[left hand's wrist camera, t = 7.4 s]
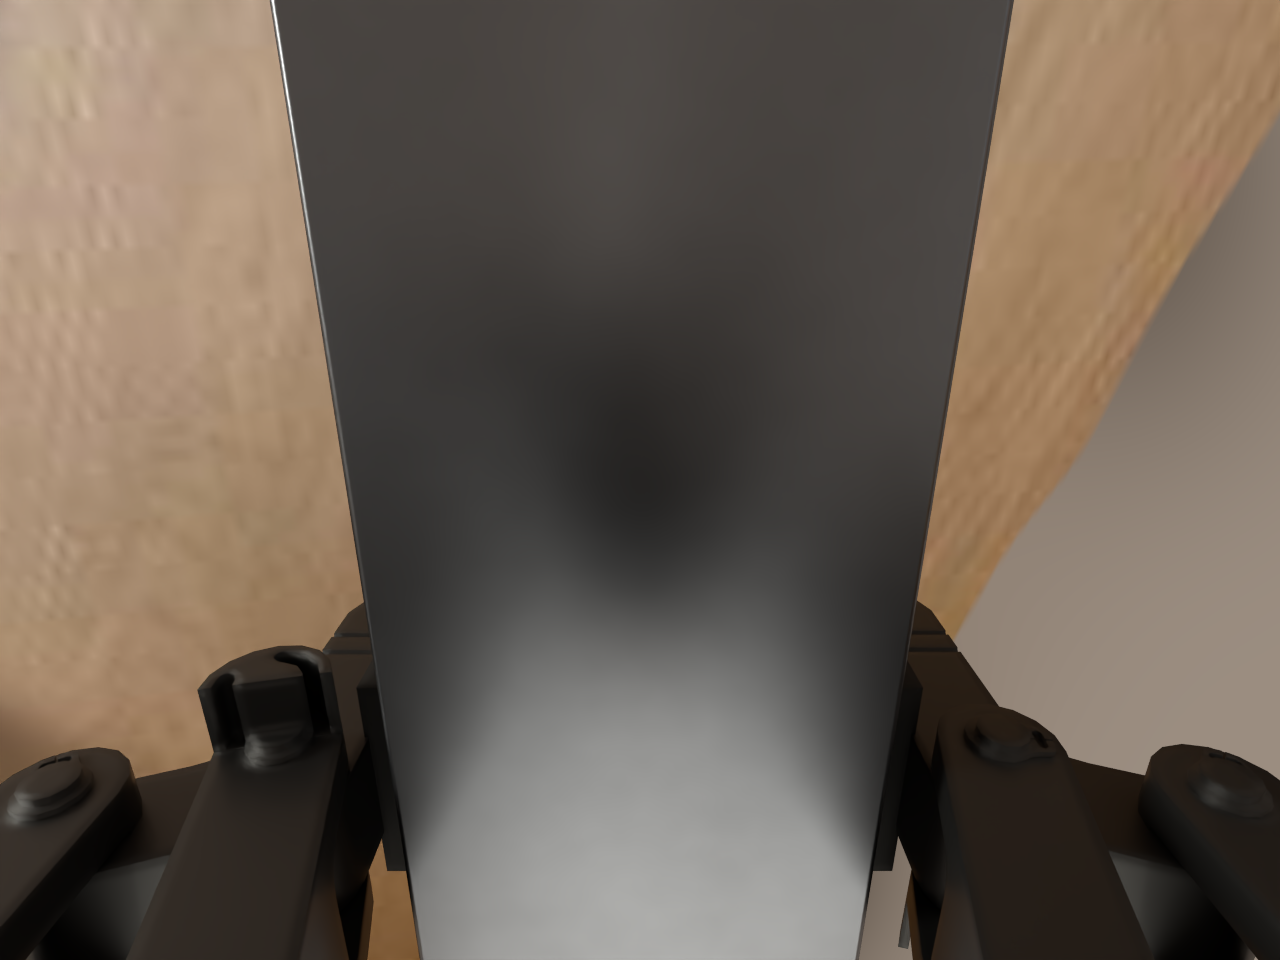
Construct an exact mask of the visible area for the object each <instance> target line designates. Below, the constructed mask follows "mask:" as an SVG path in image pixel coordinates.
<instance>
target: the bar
mask: <svg viewBox="0 0 1280 960" xmlns="http://www.w3.org/2000/svg"><path fill="white" fill-rule="evenodd" d="M1013 2H1014V0H270V5H271V11H272V18H273V24H274V30H275V37H276V43H277V49H278V56H279V62H280V69H281V75H282V81H283V88H284V94H285V101H286V107H287V113H288V120H289V126H290V133H291V139H292V145H293V152H294V158H295V164H296V171H297V177H298V184H299V190H300V196H301V203H302V209H303V216H304V222H305V228H306V235H307V241H308V247H309V254H310V260H311V267H312V273H313V279H314V286H315V292H316V299H317V305H318V311H319V318H320V324H321V330H322V337H323V343H324V350H325V356H326V362H327V369H328V375H329V382H330V388H331V394H332V401H333V407H334V414H335V420H336V426H337V433H338V439H339V445H340V452H341V458H342V465H343V471H344V477H345V484H346V490H347V497H348V503H349V509H350V516H351V522H352V528H353V535H354V541H355V548H356V554H357V560H358V567H359V573H360V580H361V586H362V592H363V599H364V605H365V611H366V618H367V624H368V631H369V637H370V643H371V650H372V656H373V663H374V669H375V675H376V682H377V688H378V694H379V701H380V707H381V714H382V720H383V726H384V733H385V739H386V746H387V752H388V758H389V765H390V771H391V778H392V784H393V790H394V797H395V803H396V809H397V816H398V822H399V829H400V835H401V841H402V848H403V854H404V861H405V867H406V873H407V880H408V886H409V892H410V899H411V905H412V912H413V918H414V924H415V931H416V937H417V944H418V950H419V956H420V960H859V954H860V948H861V942H862V935H863V929H864V923H865V917H866V911H867V904H868V898H869V892H870V886H871V880H872V874H873V867H874V861H875V855H876V849H877V843H878V837H879V830H880V824H881V818H882V812H883V806H884V799H885V793H886V787H887V781H888V775H889V769H890V762H891V756H892V750H893V744H894V738H895V731H896V725H897V719H898V713H899V707H900V701H901V694H902V688H903V682H904V676H905V670H906V663H907V657H908V651H909V645H910V639H911V633H912V626H913V620H914V614H915V608H916V602H917V596H918V589H919V583H920V577H921V571H922V565H923V558H924V552H925V546H926V540H927V534H928V528H929V521H930V515H931V509H932V503H933V497H934V490H935V484H936V478H937V472H938V466H939V460H940V453H941V447H942V441H943V435H944V429H945V422H946V416H947V410H948V404H949V398H950V392H951V385H952V379H953V373H954V367H955V361H956V354H957V348H958V342H959V336H960V330H961V324H962V317H963V311H964V305H965V299H966V293H967V287H968V280H969V274H970V268H971V262H972V256H973V249H974V243H975V237H976V231H977V225H978V219H979V212H980V206H981V200H982V194H983V188H984V181H985V175H986V169H987V163H988V157H989V151H990V144H991V138H992V132H993V126H994V120H995V113H996V107H997V101H998V95H999V89H1000V83H1001V76H1002V70H1003V64H1004V58H1005V52H1006V46H1007V39H1008V33H1009V27H1010V21H1011V15H1012V8H1013Z"/></svg>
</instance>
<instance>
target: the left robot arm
mask: <svg viewBox="0 0 1280 960" xmlns="http://www.w3.org/2000/svg"><path fill="white" fill-rule="evenodd" d="M198 694H199V698H200V701H201V705H202V709H203V713H204V716H205V720H206V724H207V728H208V732H209V735H210V739H211V743H212V747H213V750H214V754H213V756H212V758H211V761H208V762H205V763H201V764H198V765H194V766H191V767H186V768H182V769H177V770H172V771H168V772H163V773H159V774H154V775H150V776H145V777H141V778H136V779H135V776H134V773H133V770H132V767H131V764H130V761H129V759H128V758H126V757H125V756H124V755H123V754H122V753H121V752H119V751H118V750H112V749H106V748H100V747H97V748H88V749H80V750H72V751H69V752H66V753H62V754H59V755H56V756H52V757H49V758H47V759H44V760H41V761H39V762H37V763H36V764H34V765H32V766H30V767H28V768H26V769H24V770H22V771H20V772H18V773H16V774H14V775H12V776H11V777H10V778H8V779H7V780H5V781H4V782H3V783H1V784H0V960H367V957H368V948H369V939H370V930H371V921H372V911H373V902H374V901H373V894H372V887H371V881H370V875H369V869H370V866H371V864H372V861H373V859H374V856H375V854H376V851H377V849H378V846H379V844H380V841H381V839H382V842H383V848H384V854H385V860H386V866H387V871H406V867H405V861H404V854H403V848H402V841H401V835H400V829H399V822H398V816H397V809H396V803H395V797H394V790H393V784H392V778H391V771H390V765H389V758H388V752H387V746H386V739H385V733H384V726H383V720H382V714H381V707H380V701H379V694H378V688H377V682H376V675H375V669H374V663H373V656H372V650H371V643H370V637H369V631H368V624H367V618H366V611H365V605H364V603H362V604H361V605H359V606H358V607H356V608H355V609H353V610H352V611H350V612H349V613H348V614H347V616H346V617H345V619H344V620H343V622H342V623H341V624H340V626H339V627H338V629H337V630H336V632H335V633H334V637H331V639H330V640H329V642H328V643H327V644H326V646H325V647H324V649H323V653H322V652H321V651H320V650H317V649H313V648H309V647H305V646H277V647H272V648H268V649H263V650H259V651H254V652H252V653H249V654H247V655H244V656H242V657H239V658H237V659H235V660H232V661H230V662H228V663H227V664H225V665H224V666H222V667H221V668H219V669H218V670H216V671H215V672H213V673H212V674H210V675H209V676H208V678H207V679H206V680H205V681H204V682H203V684H202V685H201V686H200V687H199V688H198ZM898 836H899V839H900V841H901V844H902V846H903V849H904V851H905V854H906V856H907V859H908V861H909V864H910V866H911V869H912V870H911V875H910V881H909V886H908V892H907V897H906V903H905V908H904V914H903V919H902V925H901V930H900V937H899V944H898V947H902V948H906V949H908V946H909V941H910V937H911V946H912V956H913V960H1254V958H1255V956H1256V958H1257V959H1258V960H1280V780H1279V779H1277V778H1276V777H1274V776H1273V775H1272V774H1270V773H1269V772H1268V771H1266V770H1264V769H1262V768H1260V767H1258V766H1256V765H1254V764H1252V763H1250V762H1248V761H1246V760H1244V759H1242V758H1240V757H1238V756H1235V755H1232V754H1230V753H1227V752H1222V751H1220V750H1216V749H1212V748H1209V747H1202V746H1194V745H1186V744H1179V745H1173V746H1167V747H1162V748H1161V749H1159V750H1158V751H1157V752H1156V753H1155V754H1154V755H1152V756H1151V759H1150V762H1149V765H1148V768H1147V771H1146V774H1145V775H1140V774H1136V773H1131V772H1126V771H1122V770H1117V769H1113V768H1108V767H1104V766H1099V765H1094V764H1090V763H1086V762H1083V761H1079V760H1076V759H1072V758H1069V757H1068V755H1067V752H1066V751H1065V749H1064V748H1063V746H1062V745H1061V744H1060V742H1059V741H1058V739H1057V738H1056V737H1055V735H1053V734H1052V733H1051V732H1050V731H1048V730H1047V729H1046V728H1044V727H1043V726H1042V725H1041V724H1039V723H1038V722H1037V721H1035V720H1033V719H1031V718H1029V717H1026V716H1024V715H1022V714H1020V713H1018V712H1016V711H1014V710H1010V709H1006V708H1002V707H999V706H998V704H997V703H996V702H995V700H994V699H993V697H992V696H991V694H990V693H989V692H988V690H987V689H986V687H985V686H984V684H983V683H982V682H981V680H980V679H979V678H978V676H977V675H976V673H975V672H974V670H973V669H972V668H971V666H970V665H969V663H968V662H967V660H966V659H965V658H964V656H963V655H962V653H961V652H958V650H957V646H956V645H955V643H954V642H953V641H952V639H951V638H950V636H949V635H946V633H945V629H944V628H943V626H942V625H941V624H940V622H939V621H938V619H937V618H936V616H935V615H934V614H933V612H932V611H931V610H930V609H929V608H927V607H926V606H924V605H923V604H921V603H920V602H918V601H917V602H916V608H915V614H914V620H913V626H912V633H911V639H910V645H909V651H908V657H907V663H906V670H905V676H904V682H903V688H902V694H901V701H900V707H899V713H898V719H897V725H896V731H895V738H894V744H893V750H892V756H891V762H890V769H889V775H888V781H887V787H886V793H885V799H884V806H883V812H882V818H881V824H880V830H879V837H878V843H877V849H876V855H875V861H874V867H873V871H892V869H893V863H894V857H895V851H896V845H897V839H898Z"/></svg>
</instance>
